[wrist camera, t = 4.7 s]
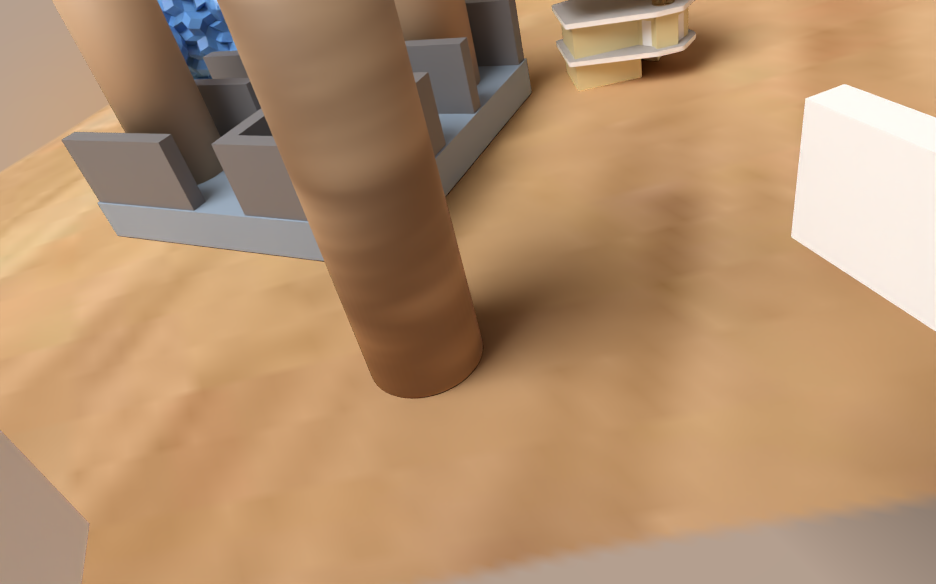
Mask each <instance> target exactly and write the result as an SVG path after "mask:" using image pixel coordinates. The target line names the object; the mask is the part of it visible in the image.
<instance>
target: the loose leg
mask: <svg viewBox="0 0 936 584" xmlns="http://www.w3.org/2000/svg"><path fill="white" fill-rule="evenodd" d="M217 2H218V4H219V7H220V9H221V12H222V14H223V16H224V19H225V21H226V24H227V26H228V29H229V31H230V33H231V36H232V38H233V41H234V43H235V46H236V48H237V50H238V53H239V55H240V58H241V60H242V63H243V65H244V67H245V70H246V72H247V75H248V77H249V80H250V82H251V84H252V87H253V89H254V92H255V94H256V97H257V99H258V101H259V104H260V106H261V109H262V111H263V114H264V116H265V118H266V121H267V123H268V126H269V128H270V130H271V133H272V135H273V138H274V140H275V143H276V145H277V147H278V150H279V152H280V155H281V157H282V160H283V162H284V164H285V167H286V169H287V172H288V174H289V177H290V179H291V181H292V184H293V186H294V189H295V191H296V194H297V196H298V198H299V201H300V203H301V206H302V208H303V211H304V213H305V215H306V218H307V220H308V223H309V225H310V228H311V230H312V232H313V235H314V237H315V240H316V242H317V245H318V247H319V249H320V252H321V254H322V257H323V259H324V261H325V264H326V266H327V269H328V271H329V274H330V276H331V278H332V281H333V283H334V286H335V288H336V291H337V293H338V295H339V298H340V300H341V303H342V305H343V308H344V310H345V312H346V315H347V317H348V320H349V322H350V325H351V327H352V329H353V332H354V334H355V337H356V339H357V342H358V344H359V346H360V349H361V351H362V354H363V356H364V359H365V361H366V363H367V366H368V368H369V371H370V373H371V376H372V378H373V380H374V382H375V383H376V384H377V386H379V387H380V388H381V389H382V390H384V391H385V392H387V393H389V394H391V395H395V396H398V397H404V398H421V397H428V396H432V395H436V394H439V393H441V392H444V391H446V390H448V389H451V388H452V387H454V386H456V385H458V384H459V383H460V382H462V381H463V380H465V379H466V378H467V377H468V376H469V375H470V374H471V373H472V372H473V371H474V369H475V368H476V366H477V365H478V363H479V361H480V359H481V356H482V353H483V341H482V337H481V333H480V329H479V325H478V322H477V318H476V314H475V310H474V306H473V302H472V299H471V295H470V291H469V287H468V283H467V279H466V275H465V272H464V268H463V264H462V260H461V256H460V252H459V248H458V245H457V241H456V237H455V233H454V229H453V225H452V221H451V218H450V214H449V210H448V206H447V202H446V198H445V194H444V191H443V187H442V183H441V179H440V175H439V171H438V167H437V164H436V160H435V156H434V152H433V148H432V144H431V140H430V137H429V133H428V129H427V125H426V121H425V117H424V113H423V110H422V106H421V102H420V98H419V94H418V90H417V87H416V83H415V79H414V75H413V71H412V67H411V63H410V60H409V56H408V52H407V48H406V44H405V40H404V36H403V33H402V29H401V25H400V21H399V17H398V13H397V9H396V6H395V2H394V0H217Z"/></svg>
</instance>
